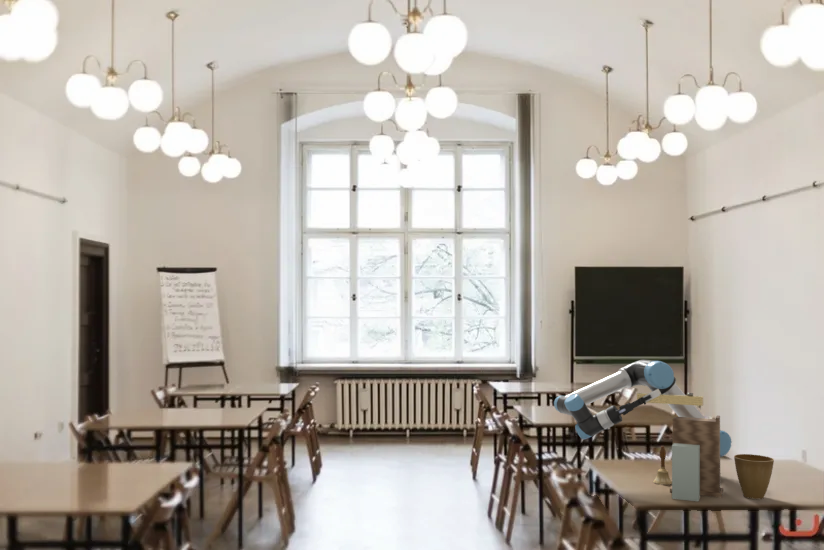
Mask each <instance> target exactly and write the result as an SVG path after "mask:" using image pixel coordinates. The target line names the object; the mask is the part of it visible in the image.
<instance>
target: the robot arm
mask: <svg viewBox="0 0 824 550" xmlns="http://www.w3.org/2000/svg"><path fill="white" fill-rule="evenodd" d="M674 375H675V373H674V370H673V368H672V367H671V366H670V365H669V364H668V363H666V362H664V361H661V360H650V359H640V360H636V361H634V362H631V363H628V364H627V365H625V366H623V367H621V368H619V369H618V371H617V372H615V373H613V374H611V375H608V376H606V377H604V378H602V379H600V380H597V381H595V382H593V383H591V384H588V385H587V386H584V387H582V388H579V389H577V390H576V391H573V392H571V393H569V394H566V395H559V396H557V397H556V398H555V399H554V401H553V406H554V409H555V410H556V411H557V412H559V413H560V414H564V415H568V416H571V417H572V418H573V419H574V420H575V421H576V424H575V426H574V427H575V431H576V434H577V435H578V436H579V437H580V439H582V440H587V439H590V438H592V437H595V435H598V434H599V433H602V432H603V431H605V430H610V429H611V427H613V426H614V425H618V424H619V423H621V422H622V421H623V417H622V415H623V416H625V415H628V414H629V413H630V412H631V411H633V410H634V409H635V408H638V407H639V406H641V405H647V403H646V402H648V401H650V400H652V399H654V398H656V397H658V396H660V394H667V395H686V394H685V393H684V392H683V391H682V389H681V388H680V387H679V386H678V385H677V378H676V377H675V376H674ZM637 386H644V387H647V388H648V389H649V390H650V391H651V392H649V393H648V394H647V395H645V396H643V397H641V398H639V399H638V400H637V399H636V400H634V401H633V402H627V403H626V404H623V405H621V406H619V408H617V407H616V405H611V406H609V407H607V408H606V409H603V410H601V411H599V412H597V413H595V414H593V413H592V412H591V410H590V409H589V407H588V406H587V405H590V404H591V403H594V402H596V401H598V400H600V399H603V398H605V397H607V396H609V395H611V394H614V393H616V392H619V391H621V390H623V389H625V388H627V389H630V388H632V387H637ZM667 405H668V407H669V408H670V409H671V410H672V411H673V412H674V413H675V415H676V416H677V417H690V418H706V417H705V416H704V415H703V413H702V412H701V411H700V410H699V409H698V408H697V406H696V405H681V404H667ZM732 442H733V441H732V437H731V436H730V434H729V433H728V432H727V431H725V430H721V429H720V458H721V457H724V456H726V455H727V454H728V453H729V452H730V450H731V448H732Z"/></svg>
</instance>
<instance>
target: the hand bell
mask: <svg viewBox="0 0 824 550" xmlns="http://www.w3.org/2000/svg"><path fill="white" fill-rule="evenodd" d="M659 449H660V450H659V458H660V468H659V469H658V470H657V474H656V476H655V479H653V481H652V483H653V484H655V483H656V485H660V484H663V486H671V485H672V479H671V477H670V475H669V470H667V469H666V464H665V461H666V455H667V453H666V448H665V446H664V445H661V446H660V448H659ZM670 484H671V485H670Z"/></svg>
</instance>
